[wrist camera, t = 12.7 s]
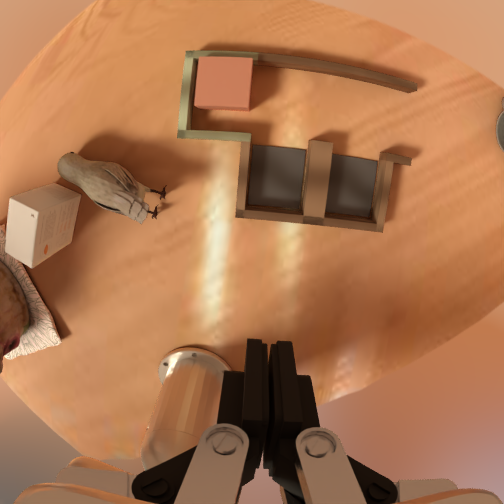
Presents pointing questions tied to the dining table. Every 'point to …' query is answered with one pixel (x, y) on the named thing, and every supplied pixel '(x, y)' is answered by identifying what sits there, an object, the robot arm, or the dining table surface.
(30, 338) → the cookie jar
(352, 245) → the dining table surface
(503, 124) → the ceramic mug
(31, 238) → the small box
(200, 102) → the block
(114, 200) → the decorative bird
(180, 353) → the robot arm
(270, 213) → the trap run
